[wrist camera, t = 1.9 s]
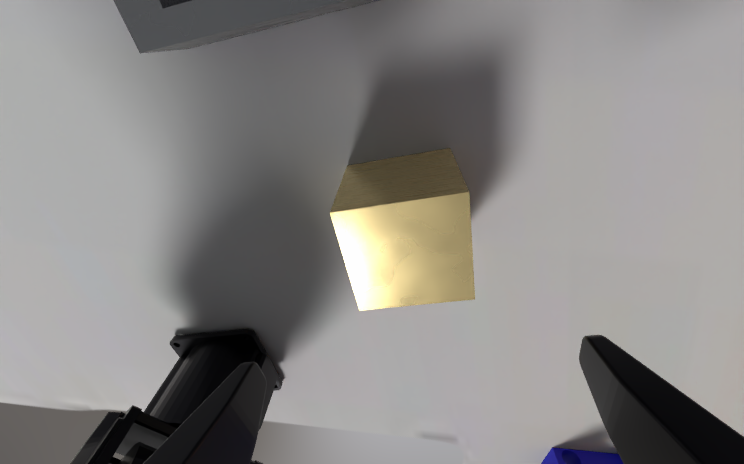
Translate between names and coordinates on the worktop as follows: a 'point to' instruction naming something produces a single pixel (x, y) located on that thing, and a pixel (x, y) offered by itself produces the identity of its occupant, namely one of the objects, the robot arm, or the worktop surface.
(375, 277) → the brass cuboid
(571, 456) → the cable clip
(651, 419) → the robot arm
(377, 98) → the worktop surface
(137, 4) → the grey flat block
